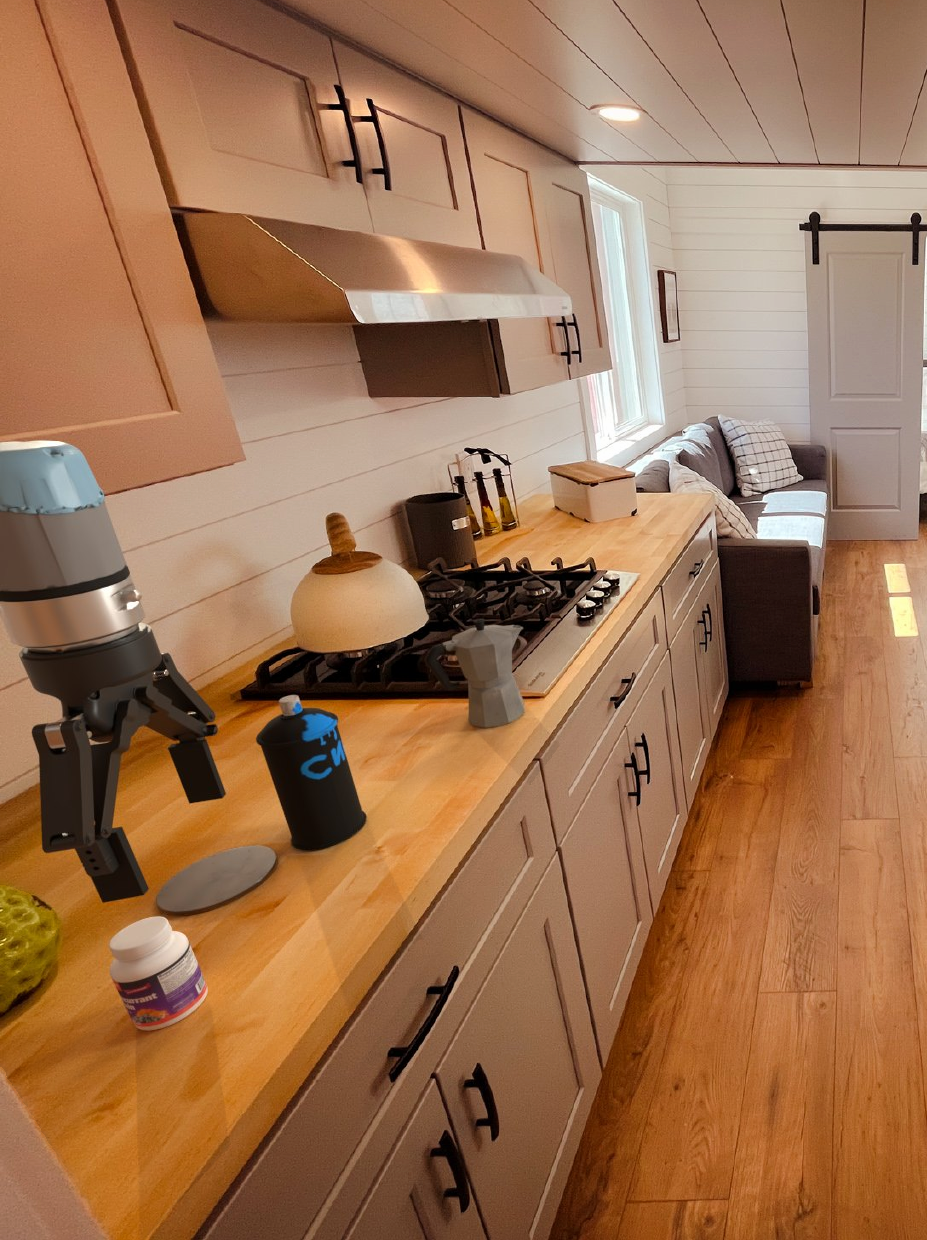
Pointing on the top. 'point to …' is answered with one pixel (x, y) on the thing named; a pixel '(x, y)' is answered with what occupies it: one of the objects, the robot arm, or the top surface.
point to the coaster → (216, 880)
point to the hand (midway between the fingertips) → (171, 843)
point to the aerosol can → (311, 775)
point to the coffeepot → (484, 672)
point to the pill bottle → (156, 973)
